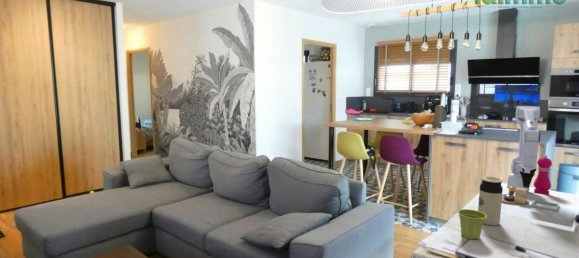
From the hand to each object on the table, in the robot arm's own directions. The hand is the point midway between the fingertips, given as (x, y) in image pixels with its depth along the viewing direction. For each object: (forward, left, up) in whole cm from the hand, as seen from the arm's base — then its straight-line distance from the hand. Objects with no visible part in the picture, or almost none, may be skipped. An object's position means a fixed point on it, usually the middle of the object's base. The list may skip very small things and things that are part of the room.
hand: (526, 185), depth 165 cm
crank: (-7, -2, -8) cm, 10 cm away
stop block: (-1, -1, -8) cm, 8 cm away
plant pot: (+20, -49, -10) cm, 54 cm away
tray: (+7, +4, -10) cm, 12 cm away
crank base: (-5, -4, -10) cm, 12 cm away
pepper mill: (-12, +24, -10) cm, 28 cm away
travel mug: (+11, -32, -10) cm, 35 cm away
